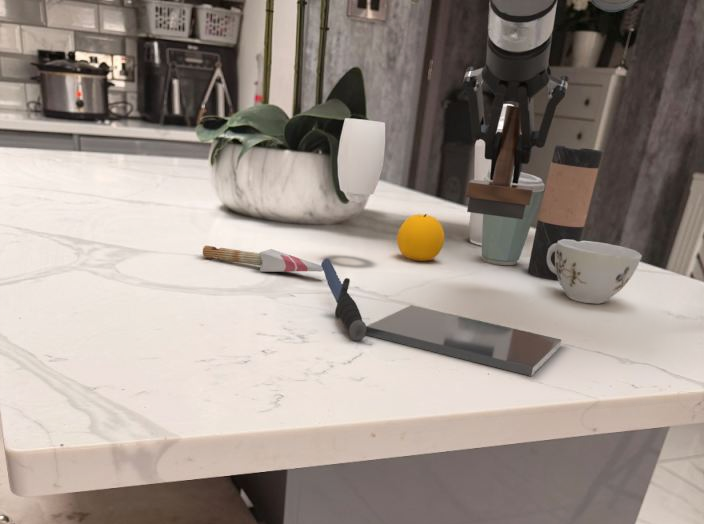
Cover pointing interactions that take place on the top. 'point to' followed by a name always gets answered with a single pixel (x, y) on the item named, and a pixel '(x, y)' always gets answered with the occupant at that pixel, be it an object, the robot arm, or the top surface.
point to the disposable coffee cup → (509, 226)
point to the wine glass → (360, 158)
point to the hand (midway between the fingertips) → (505, 174)
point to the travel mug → (563, 204)
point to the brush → (502, 177)
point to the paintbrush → (262, 259)
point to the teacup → (592, 269)
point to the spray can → (479, 174)
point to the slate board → (466, 339)
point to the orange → (420, 237)
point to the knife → (344, 302)
